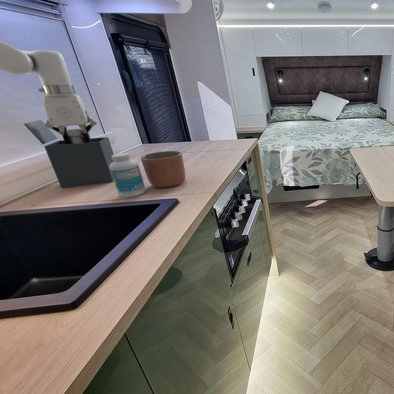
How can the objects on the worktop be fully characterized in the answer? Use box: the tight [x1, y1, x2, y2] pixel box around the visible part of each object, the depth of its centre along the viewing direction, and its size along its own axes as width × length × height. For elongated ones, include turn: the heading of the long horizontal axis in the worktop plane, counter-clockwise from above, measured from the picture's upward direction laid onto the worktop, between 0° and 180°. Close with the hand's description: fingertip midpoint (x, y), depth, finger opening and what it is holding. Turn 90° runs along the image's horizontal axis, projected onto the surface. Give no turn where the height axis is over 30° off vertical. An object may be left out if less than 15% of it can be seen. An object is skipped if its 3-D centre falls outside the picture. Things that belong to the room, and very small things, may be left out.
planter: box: [140, 150, 186, 189], centre depth 104 cm, size 12×12×11 cm
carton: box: [44, 136, 114, 189], centre depth 107 cm, size 15×11×15 cm
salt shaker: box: [67, 128, 84, 144], centre depth 105 cm, size 6×6×13 cm
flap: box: [23, 119, 59, 145], centre depth 100 cm, size 7×11×1 cm
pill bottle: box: [109, 152, 147, 198], centre depth 94 cm, size 8×7×14 cm
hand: (79, 144), depth 105 cm, fingers closed on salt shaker, 4 cm apart
